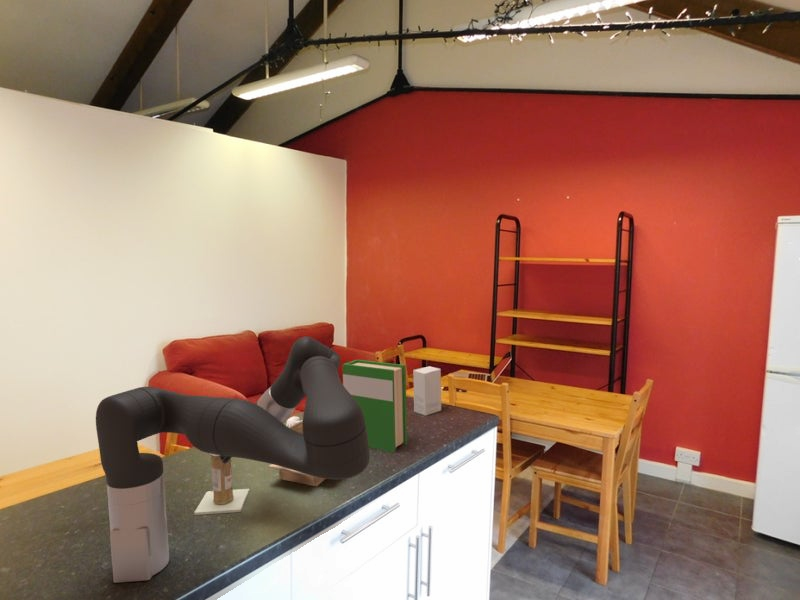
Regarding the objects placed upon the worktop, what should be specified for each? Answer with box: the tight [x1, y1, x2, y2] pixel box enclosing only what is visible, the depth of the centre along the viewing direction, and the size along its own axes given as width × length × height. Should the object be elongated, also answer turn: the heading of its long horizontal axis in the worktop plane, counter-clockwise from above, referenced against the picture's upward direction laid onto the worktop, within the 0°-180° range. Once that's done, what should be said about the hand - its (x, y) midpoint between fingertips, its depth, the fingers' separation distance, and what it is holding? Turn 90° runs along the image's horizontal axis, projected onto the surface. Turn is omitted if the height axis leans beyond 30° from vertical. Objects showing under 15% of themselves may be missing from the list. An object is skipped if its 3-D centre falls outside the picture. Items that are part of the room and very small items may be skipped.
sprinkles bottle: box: [210, 454, 234, 505], centre depth 116 cm, size 5×5×13 cm
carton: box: [268, 419, 326, 487], centre depth 131 cm, size 15×19×12 cm
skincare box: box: [412, 365, 442, 416], centre depth 180 cm, size 8×7×16 cm
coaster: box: [193, 488, 250, 516], centre depth 117 cm, size 10×10×1 cm
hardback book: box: [342, 359, 408, 453], centre depth 151 cm, size 18×7×24 cm, turn 59°
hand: (236, 453), depth 116 cm, fingers open, 8 cm apart
